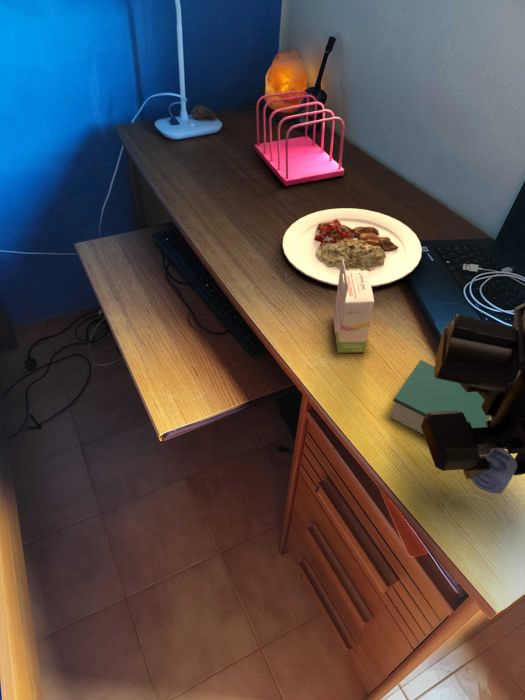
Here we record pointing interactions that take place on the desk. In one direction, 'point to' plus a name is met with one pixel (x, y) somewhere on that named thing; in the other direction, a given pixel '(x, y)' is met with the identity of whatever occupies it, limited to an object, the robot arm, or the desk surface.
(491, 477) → the decorative dice
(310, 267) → the plated food
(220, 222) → the desk surface
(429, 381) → the box
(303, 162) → the file sorter
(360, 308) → the ink box
